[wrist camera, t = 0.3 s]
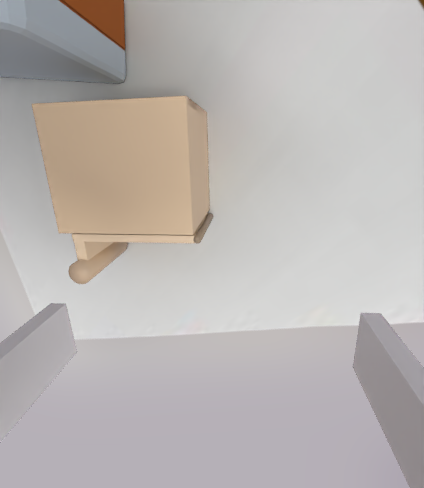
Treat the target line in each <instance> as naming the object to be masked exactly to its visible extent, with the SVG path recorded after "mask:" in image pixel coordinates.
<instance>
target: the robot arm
mask: <svg viewBox="0 0 424 488" xmlns="http://www.w3.org/2000/svg"><path fill="white" fill-rule="evenodd" d="M76 353H77V349H76V345H75V341H74V336H73V332H72V328H71V324H70V319H69V315H68V311H67V307H66V304H54V303H51V304H50V305H48V306H47V307H46V308H44V309H43V310H42V311H41V312H39V313H38V314H37V315H36V316H34V317H33V318H32V319H30V320H29V321H28V322H27V323H26V324H24V325H23V326H22V327H20V328H19V329H18V330H16V331H15V332H14V333H12V334H11V335H10V336H9V337H7V338H6V339H5V340H4V341H2V342H1V343H0V443H1V441H2V440H3V439H4V438H5V437H6V436H7V434H8V433H9V432H10V431H11V429H12V428H13V427H14V426H15V425H16V424H17V423H18V421H19V420H20V419H21V418H22V417H23V415H24V414H25V413H26V412H27V410H28V409H29V408H30V407H31V406H32V405H33V404H34V402H35V401H36V400H37V399H38V398H39V397H40V395H41V394H42V393H43V392H44V391H45V389H46V388H47V387H48V386H49V385H50V384H51V382H52V381H53V380H54V379H55V378H56V377H57V375H58V374H59V373H60V372H61V370H62V369H63V368H64V367H65V366H66V365H67V364H68V362H69V361H70V360H71V359H72V358H73V356H74V355H75V354H76ZM353 368H354V370H355V373H356V375H357V377H358V379H359V381H360V383H361V385H362V387H363V390H364V392H365V394H366V396H367V398H368V400H369V402H370V404H371V407H372V409H373V411H374V413H375V415H376V417H377V419H378V421H379V423H380V425H381V427H382V430H383V432H384V434H385V436H386V438H387V440H388V443H389V445H390V447H391V449H392V451H393V453H394V455H395V457H396V459H397V461H398V464H399V466H400V468H401V470H402V472H403V474H404V476H405V478H406V481H407V483H408V485H409V487H410V488H424V367H423V366H422V365H421V364H420V362H419V361H418V360H417V358H416V357H415V356H414V355H413V353H412V352H411V351H410V350H409V349H408V347H407V346H406V345H405V343H403V341H402V340H401V338H400V337H399V336H398V335H397V333H396V332H395V331H394V330H393V328H392V327H391V326H390V325H389V323H388V322H387V321H386V319H385V318H384V317H383V316H382V314H381V313H361V315H360V321H359V329H358V335H357V342H356V349H355V356H354V364H353Z"/></svg>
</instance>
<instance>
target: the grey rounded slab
mask: <svg viewBox="0 0 424 488" xmlns="http://www.w3.org/2000/svg"><path fill="white" fill-rule="evenodd" d="M0 77H11V78H28V79H47V80H65V81H82V82H99V83H121V82H124V80H125V77H126V64H125V29H124V0H0Z"/></svg>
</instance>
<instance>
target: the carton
mask: <svg viewBox="0 0 424 488" xmlns="http://www.w3.org/2000/svg"><path fill="white" fill-rule="evenodd" d="M32 108H33V113H34V118H35V122H36V127H37V132H38V136H39V141H40V146H41V151H42V155H43V160H44V165H45V170H46V174H47V179H48V184H49V188H50V193H51V198H52V203H53V207H54V212H55V217H56V221H57V226H58V231H59V233H82V234H160V235H193V234H194V233H195V231H196V229H197V228H198V226H199V225H200V223H201V222H202V220H203V219H204V217H205V215H206V214H207V212H208V211H209V209H210V204H209V169H208V135H207V112H206V111H205V110H203V109H202V108H201V107H199V106H198V105H197V104H196V103H194V102H193V101H192V100H191V99H189V98H188V97H187V96H173V97H153V98H134V99H115V100H95V101H76V102H56V103H37V104H32Z"/></svg>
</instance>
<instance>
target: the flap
mask: <svg viewBox="0 0 424 488" xmlns="http://www.w3.org/2000/svg"><path fill="white" fill-rule="evenodd" d="M212 219H213V215H212V214H211V213H210V214H208V213H207V214H206V215H205V217H204V219H203V220H202V222H201V223H200V225H199V226H198V228H197V229H196V231H195V233H194V234H193V235H160V234H82V233H73V234H72V238H73V241H74V243H75V249H76V254H77V259H78V261H76V262H75V263H73V264H72V265H71V266H70V267H69V275H70V277H71V279H72V280H73V281H74V282H76V283H78V284H86V283H87V282H89V281H90V280H91V279H92V278H93V277H95V276H96V275H97V274H98V273H99V272H101V271H102V270H103V269H104V268H105V267H107V266H108V265H109V264H110V263H111V262H112V261H114V260H115V259H116V258H117V257H118V256H120V255H121V254H122V253H123V252H124V251H126V249H127V242H145V243H200V242H201V240H202V238H203V236H204V234H205V232H206V230H207V228H208V226H209V224H210V223H211V221H212Z"/></svg>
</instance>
